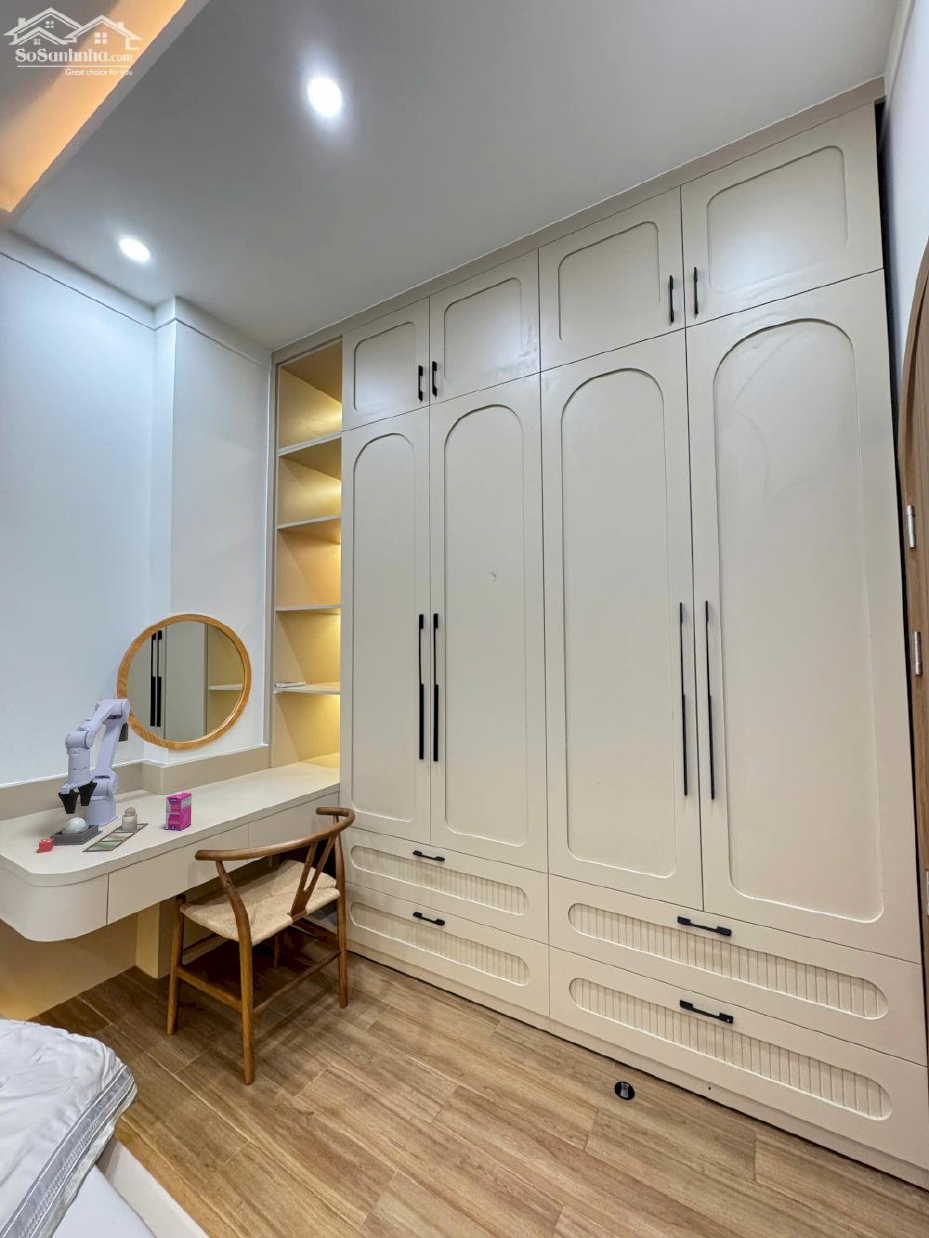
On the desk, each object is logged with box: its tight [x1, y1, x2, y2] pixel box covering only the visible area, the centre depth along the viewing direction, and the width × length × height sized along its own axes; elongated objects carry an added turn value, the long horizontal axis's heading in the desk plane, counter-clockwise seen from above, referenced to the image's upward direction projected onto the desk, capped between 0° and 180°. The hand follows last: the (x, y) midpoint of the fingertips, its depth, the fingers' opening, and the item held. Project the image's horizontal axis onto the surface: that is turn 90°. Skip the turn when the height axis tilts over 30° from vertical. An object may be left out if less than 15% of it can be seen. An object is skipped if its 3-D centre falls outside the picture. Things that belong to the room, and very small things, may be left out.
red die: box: [38, 838, 55, 854], centre depth 161 cm, size 3×3×3 cm
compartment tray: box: [82, 822, 149, 853], centre depth 172 cm, size 23×8×1 cm, turn 7°
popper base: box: [49, 824, 103, 847], centre depth 170 cm, size 11×11×3 cm
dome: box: [61, 816, 88, 835], centre depth 171 cm, size 7×7×6 cm
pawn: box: [121, 806, 139, 831], centre depth 179 cm, size 4×4×7 cm
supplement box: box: [165, 791, 193, 832], centre depth 181 cm, size 6×6×12 cm
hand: (77, 809), depth 171 cm, fingers open, 7 cm apart
